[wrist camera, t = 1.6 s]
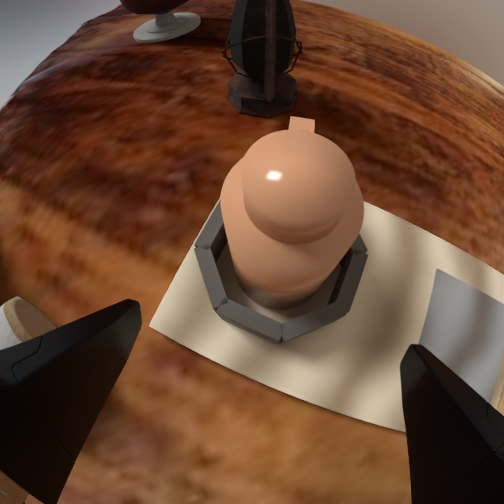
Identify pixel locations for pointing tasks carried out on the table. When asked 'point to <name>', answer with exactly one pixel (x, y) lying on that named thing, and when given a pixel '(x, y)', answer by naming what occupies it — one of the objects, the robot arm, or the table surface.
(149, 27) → the mate gourd
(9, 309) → the ceramic mug
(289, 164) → the peach jug
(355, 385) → the board
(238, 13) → the lantern
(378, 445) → the table surface
